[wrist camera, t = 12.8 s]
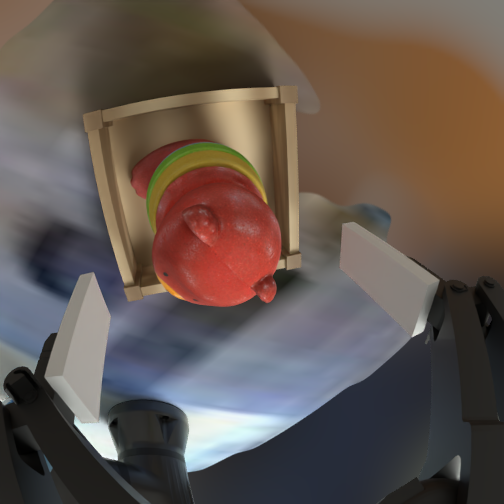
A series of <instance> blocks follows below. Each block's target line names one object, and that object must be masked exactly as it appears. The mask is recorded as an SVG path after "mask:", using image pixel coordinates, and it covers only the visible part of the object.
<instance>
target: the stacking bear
mask: <svg viewBox="0 0 504 504" xmlns="http://www.w3.org/2000/svg"><path fill="white" fill-rule="evenodd" d="M130 183H131V186H132V187H133V188H134V189H135V190H136V194H137V195H138V196H140V197H141V198H143V199H146V208H147V215H148V219H149V223H150V225H151V228H152V230H153V232H154V234H155V237H154V241H153V247H152V262H153V267H154V270H155V273H156V275H157V278H158V280H159V281H160V283H161V284H162V286H163V287H164V288H165V289H166V291H168V292H170V293H171V294H172V295H174V296H176V297H177V298H180V299H183V300H186V301H189V302H192V303H196V304H201V305H208V306H233V305H237V304H240V303H243V302H245V301H247V300H249V299H250V298H252V297H253V296H255V295H256V294H257V295H258V296H259V297H260V298H261V299H262V300H263V301H264V302H266V303H268V302H270V301H271V300H272V299H273V298H274V296H275V294H276V283H275V281H274V279H273V277H272V276H273V274H274V272H275V271H276V268H277V265H278V262H279V259H280V255H281V232H280V227H279V223H278V221H277V219H276V217H275V215H274V213H273V211H272V210H271V209H270V207H269V206H268V204H267V197H266V193H265V190H264V187H263V184H262V181H261V179H260V177H259V175H258V173H257V171H256V170H255V168H254V167H253V166H252V164H251V163H250V162H249V161H248V160H247V159H246V158H245V157H244V156H243V155H241V154H240V153H239V152H237V151H236V150H234V149H232V148H230V147H228V146H225V145H222V144H219V143H216V142H214V141H210V140H205V139H188V140H182V141H177V142H173V143H170V144H167V145H164V146H162V147H160V148H158V149H156V150H154V151H152V152H151V153H149V154H148V155H147V156H145V157H144V158H143V159H141V160H140V161H139V162H138V163H137V164H136V165H135V166H134V168H133V169H132V179H131V181H130Z"/></svg>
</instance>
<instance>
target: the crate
mask: <svg viewBox="0 0 504 504" xmlns="http://www.w3.org/2000/svg"><path fill="white" fill-rule="evenodd" d="M295 103H298V94H297V86H277V87H266V88H243V89H228V90H217V91H207V92H198V93H190V94H183V95H176V96H169V97H163V98H157V99H152V100H147V101H141V102H137V103H132V104H127V105H123V106H118V107H114V108H110V109H106V110H102V109H100V110H97V111H93V112H89V113H86V114H83V120H84V128H85V133H86V132H88V138H89V145H90V151H91V156H92V162H93V167H94V172H95V177H96V182H97V187H98V192H99V196H100V200H101V205H102V209H103V213H104V217H105V221H106V225H107V228H108V232H109V236H110V239H111V243H112V246H113V250H114V253H115V256H116V260H117V263H118V266H119V269H120V272H121V276H122V279H123V282H124V291H125V294H126V296H127V299H128V302H129V301H135V300H140V299H143V296H145V295H151V294H156V293H161V292H166V289H165V288H164V287H163V286H162V284H161V283H160V281H159V280H158V278H157V275H156V273H155V270H154V267H153V262H152V247H153V241H154V237H155V234H154V232H153V230H152V228H151V225H150V223H149V219H148V215H147V208H146V199H143V198H141V197H140V196H138V195H137V194H136V190H135V189H134V188H133V187H132V186H131V183H130V181H131V179H132V169H133V168H134V166H135V165H136V164H137V163H138V162H139V161H140V160H141V159H143V158H144V157H145V156H147V155H148V154H149V153H151V152H152V151H154V150H156V149H158V148H160V147H162V146H164V145H167V144H170V143H173V142H177V141H182V140H188V139H205V140H210V141H214V142H216V143H219V144H222V145H225V146H228V147H230V148H232V149H234V150H236V151H237V152H239V153H240V154H241V155H243V156H244V157H245V158H246V159H247V160H248V161H249V162H250V163H251V164H252V166H253V167H254V168H255V170H256V171H257V173H258V175H259V177H260V179H261V181H262V184H263V187H264V190H265V193H266V197H267V204H268V206H269V207H270V209H271V210H272V211H273V213H274V215H275V217H276V219H277V221H278V223H279V227H280V232H281V255H280V259H279V262H278V265H277V268H276V269H280V268H286V269H287V270H289V269H294V268H299V267H301V253H300V252H299V195H298V156H297V129H296V109H295Z"/></svg>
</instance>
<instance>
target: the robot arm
mask: <svg viewBox="0 0 504 504" xmlns="http://www.w3.org/2000/svg"><path fill="white" fill-rule="evenodd" d="M339 268H340V269H342V270H343V271H344V272H345V273H346V274H347V275H348V276H349V277H350V278H351V279H352V280H353V281H354V282H356V283H357V284H358V285H359V286H360V287H361V288H362V289H363V290H364V291H365V292H366V293H367V294H368V295H369V296H370V297H371V298H372V299H373V300H374V301H376V302H377V303H378V304H379V305H380V306H381V307H382V308H383V309H384V310H385V311H386V312H387V313H388V314H389V315H390V316H391V317H392V318H393V319H394V320H395V321H396V322H397V323H398V324H399V325H400V326H401V327H402V328H403V329H404V330H405V331H406V332H407V333H408V334H409V335H410V336H411V337H413V336H415V335H417V334H419V333H421V332H423V331H424V328H425V325H426V322H427V321H428V322H429V323H430V324H431V328H430V330H429V333H428V336H427V338H426V341H425V344H427V343H428V340H430V345H431V371H432V372H431V374H432V375H431V376H432V378H431V380H432V381H431V384H432V386H431V419H430V433H429V444H428V453H427V459H426V463H425V464H424V466H423V468H422V470H421V473H420V475H419V479H417V477H416V478H415V479H413V480H412V481H410V482H408V483H407V484H405V485H404V486H402V487H400V488H399V489H398V490H396V491H394V492H392V493H390V494H389V495H387V496H386V497H385V498H383V499H382V500H381V501H379V502H378V503H377V504H504V290H503V289H502V287H501V286H500V284H499V283H498V282H497V281H496V280H494V279H493V278H491V277H486V276H482V277H480V278H478V281H477V284H476V286H475V287H468V286H467V285H466V284H465V283H463V282H461V281H458V280H449V281H447V282H446V281H444V280H443V279H442V278H440V277H439V276H438V275H436V274H435V273H433V272H432V271H431V270H429V269H427V268H426V267H425V266H424V265H421V263H419V262H418V261H416V260H415V259H413V258H410V257H408V256H405V255H403V254H402V253H401V252H399V251H398V250H396V249H394V248H393V247H392V246H390V245H389V244H387V243H386V242H384V241H383V240H381V239H380V238H378V237H377V236H375V235H373V234H372V233H370V232H369V231H367V230H366V229H364V228H363V227H361V226H359V225H358V224H356V223H355V222H351V223H345V224H342V240H341V255H340V267H339ZM489 315H491V317H492V321H491V323H490V325H488V324H487V320H488V318H489ZM110 319H111V316H110V314H109V311H108V309H107V306H106V304H105V301H104V299H103V296H102V294H101V291H100V288H99V286H98V283H97V280H96V278H95V275H94V272H93V273H88V274H83V275H80V277H79V279H78V282H77V284H76V286H75V289H74V291H73V294H72V296H71V299H70V301H69V304H68V306H67V309H66V312H65V314H64V317H63V320H62V322H61V325H60V328H59V331H58V333H52V334H51V335H50V336H49V337H48V339H47V340H46V341H45V343H44V346H43V349H42V353H41V355H40V358H39V359H40V360H39V361H38V364H37V367H36V370H35V373H34V375H33V373H32V372H31V371H30V370H29V369H28V368H27V367H18V368H16V369H14V370H12V371H11V372H10V373H9V374H8V375H7V377H6V378H5V381H4V385H3V386H4V391H5V392H6V393H7V394H8V395H9V397H10V398H11V399H12V400H13V401H14V402H12V403H9V404H6V405H3V403H2V402H1V401H0V504H194V501H193V496H192V492H191V488H190V483H189V479H188V474H187V469H186V464H185V458H184V453H185V448H186V443H187V439H188V434H189V425H188V419H187V417H186V415H185V414H184V413H183V412H182V411H181V410H180V409H178V408H176V407H174V406H172V405H169V404H166V403H162V402H158V401H150V400H135V401H128V402H124V403H121V404H118V405H117V406H115V407H113V408H112V409H111V410H110V412H109V415H108V428H109V431H110V434H111V437H112V440H113V442H114V445H115V448H116V450H117V453H118V461H116V460H112V459H108V458H104V457H102V456H101V455H100V454H99V453H98V452H97V451H96V449H95V448H94V447H93V446H92V445H91V444H90V442H89V441H88V440H87V439H86V438H85V436H84V435H83V434H82V433H81V432H80V430H79V429H78V428H77V427H76V426H75V425H74V417H75V416H76V417H77V418H78V420H79V421H80V422H81V423H99V411H100V397H101V386H102V376H103V367H104V359H105V351H106V344H107V338H108V331H109V325H110ZM497 413H498V416H499V419H500V421H499V420H498V416H497Z"/></svg>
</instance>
